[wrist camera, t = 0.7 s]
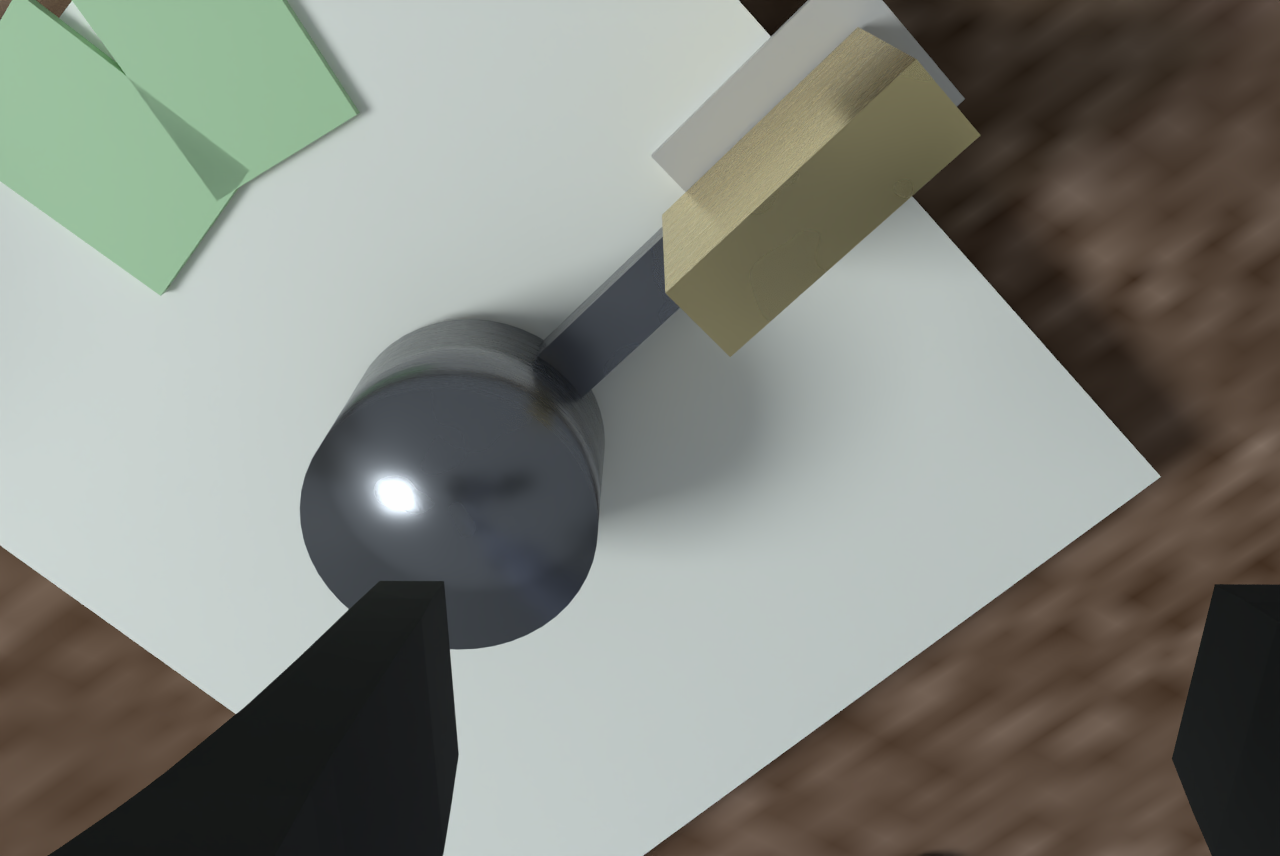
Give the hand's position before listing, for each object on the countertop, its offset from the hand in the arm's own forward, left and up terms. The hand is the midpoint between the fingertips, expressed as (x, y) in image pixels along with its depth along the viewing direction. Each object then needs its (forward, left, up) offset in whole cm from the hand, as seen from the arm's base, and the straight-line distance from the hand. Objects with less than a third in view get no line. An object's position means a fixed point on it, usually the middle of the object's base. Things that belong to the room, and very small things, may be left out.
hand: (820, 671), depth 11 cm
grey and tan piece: (+2, +1, -9) cm, 9 cm away
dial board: (+2, +4, -10) cm, 11 cm away
